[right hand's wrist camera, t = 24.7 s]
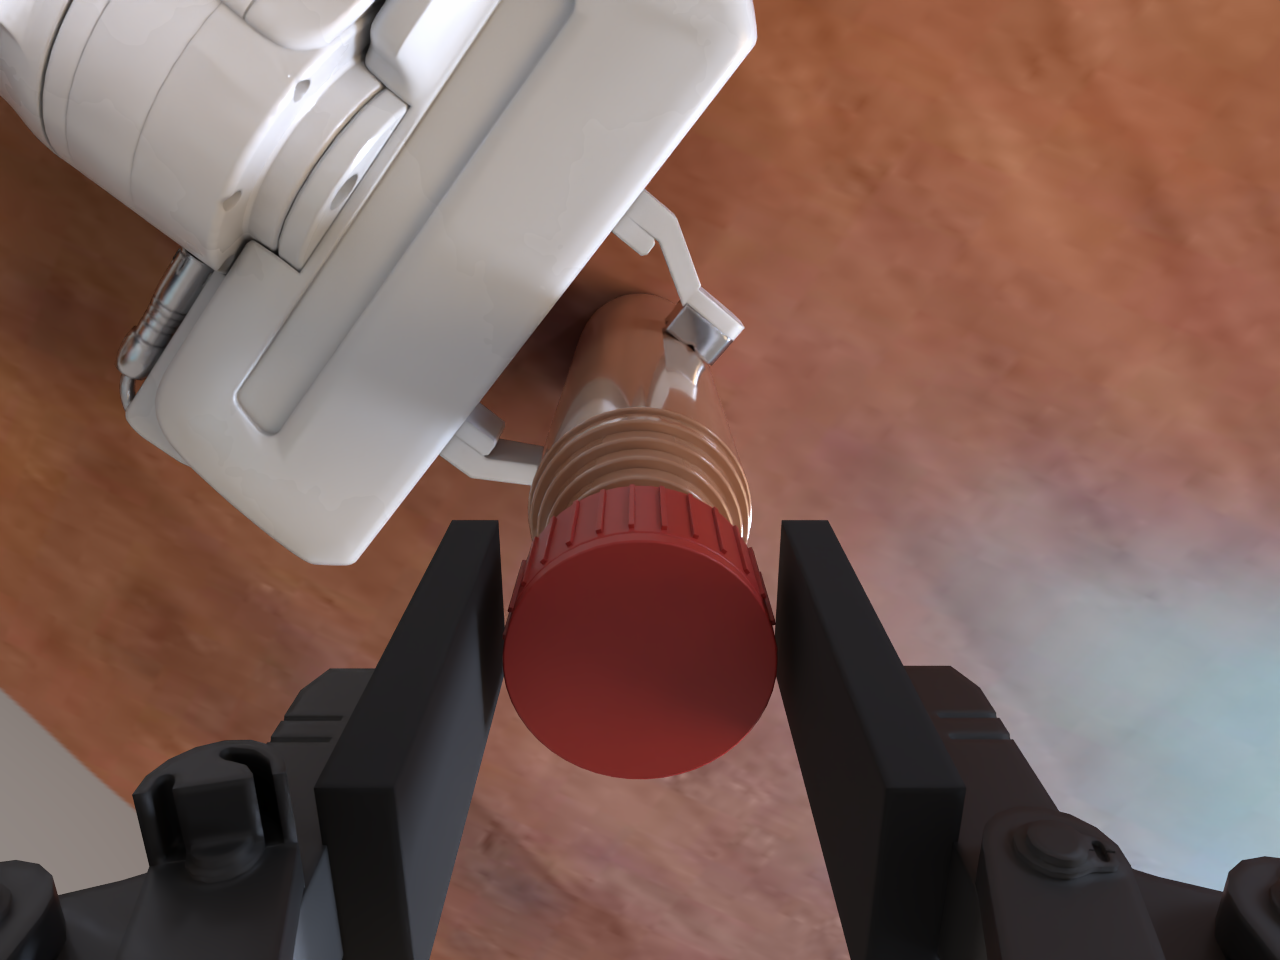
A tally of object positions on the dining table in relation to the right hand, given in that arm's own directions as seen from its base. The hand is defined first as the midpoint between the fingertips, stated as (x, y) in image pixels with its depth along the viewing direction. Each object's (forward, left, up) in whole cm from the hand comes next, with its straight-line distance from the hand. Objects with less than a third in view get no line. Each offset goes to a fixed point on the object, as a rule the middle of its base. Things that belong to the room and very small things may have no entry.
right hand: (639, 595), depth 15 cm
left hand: (0, -1, -13) cm, 13 cm away
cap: (0, 0, +2) cm, 2 cm away
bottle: (0, 0, -19) cm, 19 cm away
